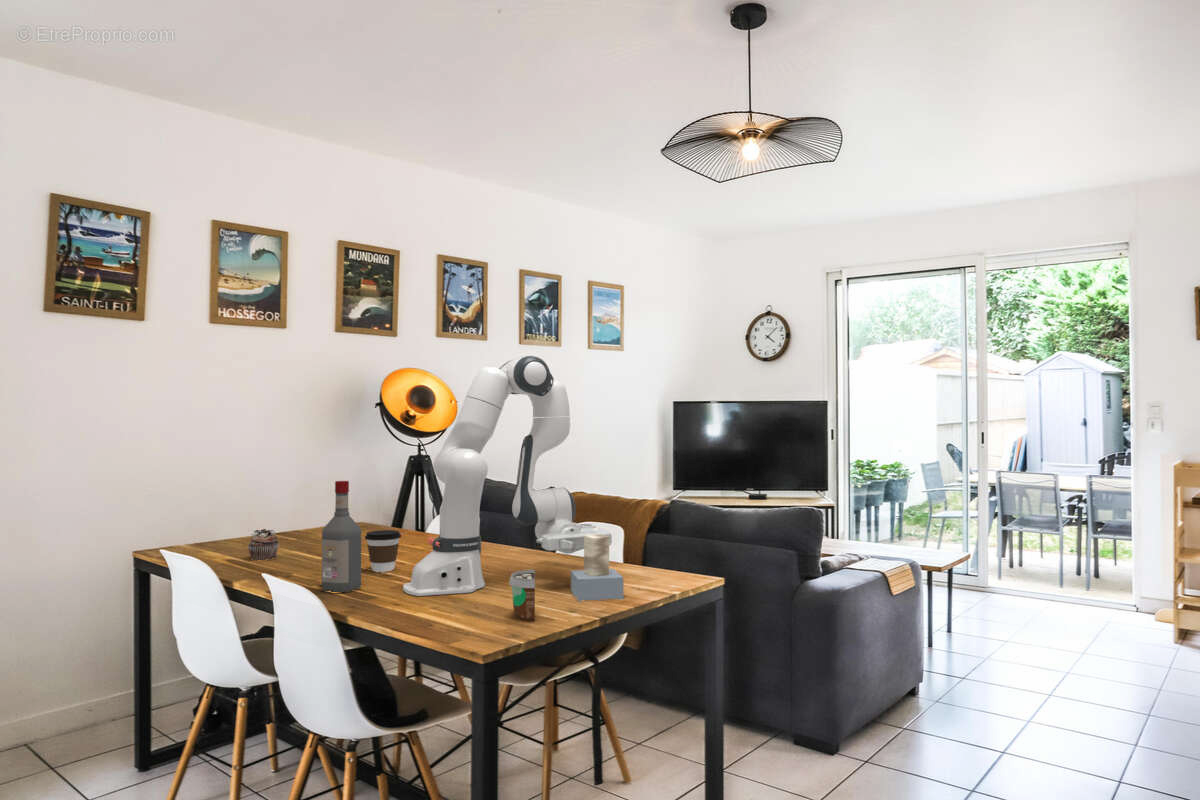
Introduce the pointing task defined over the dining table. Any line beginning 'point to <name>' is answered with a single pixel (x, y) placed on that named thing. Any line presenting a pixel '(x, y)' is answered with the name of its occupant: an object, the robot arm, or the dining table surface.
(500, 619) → the dining table surface
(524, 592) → the food container
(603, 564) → the birch block
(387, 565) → the coffee cup
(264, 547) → the cupcake
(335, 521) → the liquor
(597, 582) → the slate block
